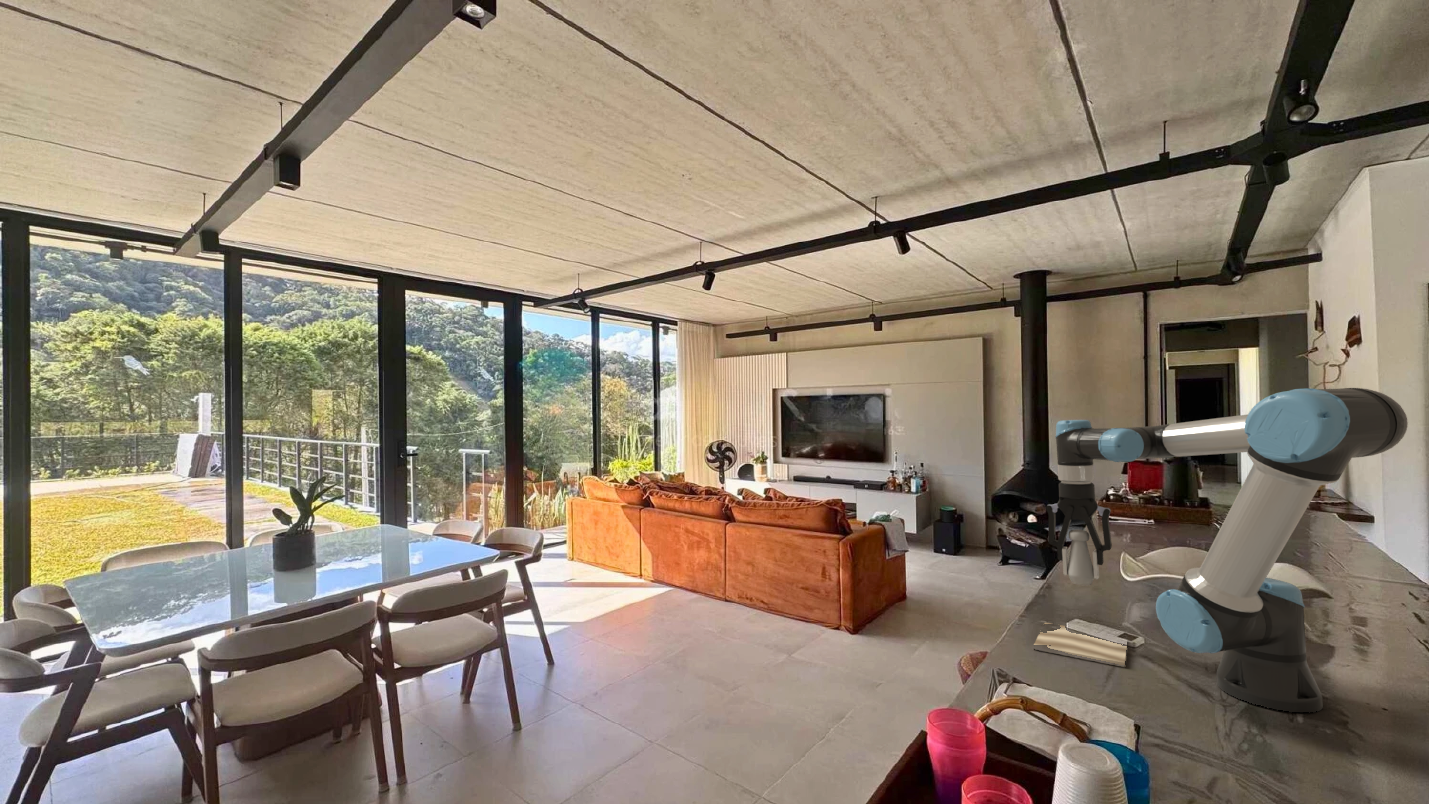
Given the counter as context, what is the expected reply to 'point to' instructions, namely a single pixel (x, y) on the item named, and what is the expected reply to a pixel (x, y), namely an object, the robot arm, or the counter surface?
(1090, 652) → the open book
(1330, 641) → the counter surface
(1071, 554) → the salt shaker
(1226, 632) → the robot arm
